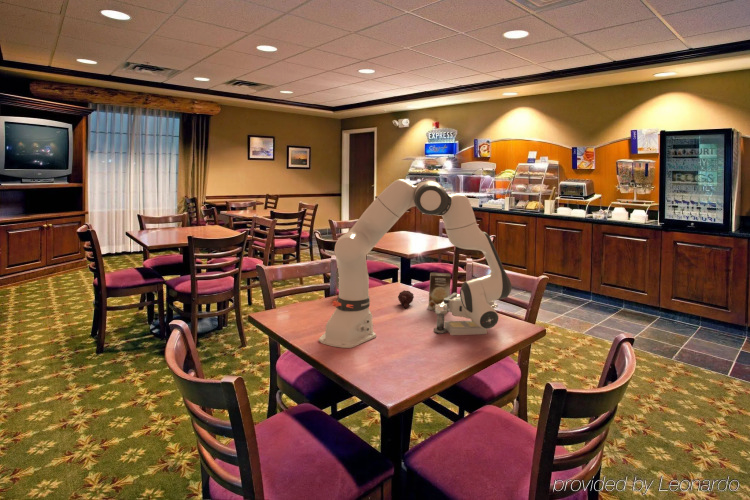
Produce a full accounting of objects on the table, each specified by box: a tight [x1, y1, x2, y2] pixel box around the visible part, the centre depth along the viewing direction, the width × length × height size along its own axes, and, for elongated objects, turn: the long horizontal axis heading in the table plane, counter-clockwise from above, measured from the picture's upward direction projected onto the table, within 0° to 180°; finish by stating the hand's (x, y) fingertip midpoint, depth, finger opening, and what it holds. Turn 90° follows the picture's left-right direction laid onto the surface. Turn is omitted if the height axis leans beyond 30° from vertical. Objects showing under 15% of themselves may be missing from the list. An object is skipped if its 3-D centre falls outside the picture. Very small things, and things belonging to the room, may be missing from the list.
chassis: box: [444, 320, 488, 336], centre depth 173 cm, size 14×9×3 cm, turn 98°
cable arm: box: [434, 292, 460, 315], centre depth 178 cm, size 22×4×4 cm, turn 152°
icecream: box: [397, 290, 415, 309], centre depth 206 cm, size 7×7×15 cm
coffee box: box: [427, 272, 452, 311], centre depth 199 cm, size 9×6×16 cm
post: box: [433, 313, 448, 334], centre depth 171 cm, size 5×5×7 cm
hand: (462, 298), depth 186 cm, fingers closed
